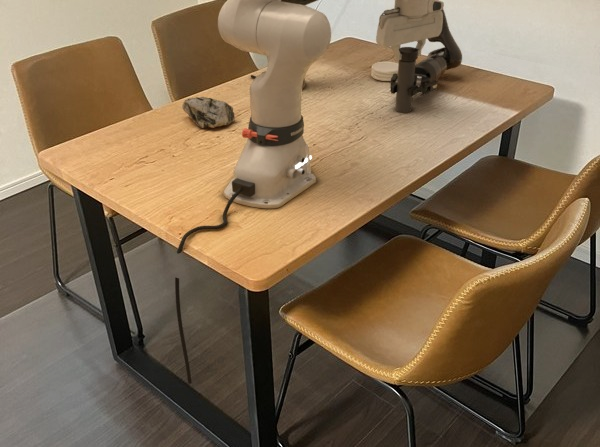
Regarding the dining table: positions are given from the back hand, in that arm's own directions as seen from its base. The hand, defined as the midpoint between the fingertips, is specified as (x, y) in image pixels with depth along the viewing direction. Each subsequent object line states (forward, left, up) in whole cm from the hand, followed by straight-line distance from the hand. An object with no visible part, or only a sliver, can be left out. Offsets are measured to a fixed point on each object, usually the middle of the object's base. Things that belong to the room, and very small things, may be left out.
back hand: (401, 91), depth 171 cm
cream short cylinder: (-16, +25, -6) cm, 31 cm away
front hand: (0, +3, +9) cm, 9 cm away
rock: (-43, -31, -6) cm, 54 cm away
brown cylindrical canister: (0, +3, -6) cm, 7 cm away
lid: (0, +3, +11) cm, 11 cm away
